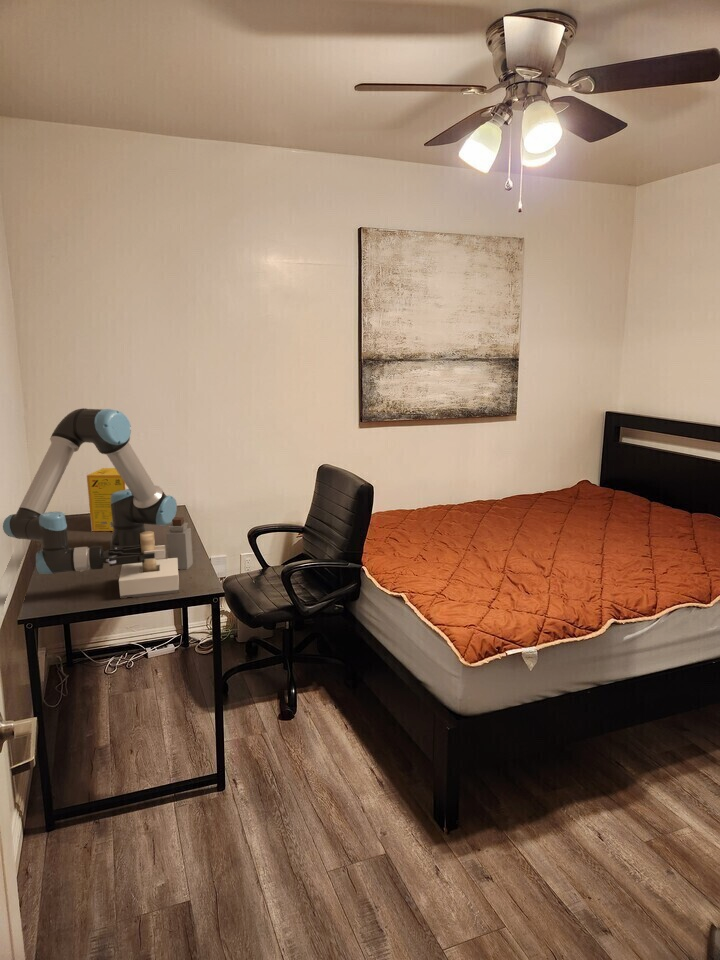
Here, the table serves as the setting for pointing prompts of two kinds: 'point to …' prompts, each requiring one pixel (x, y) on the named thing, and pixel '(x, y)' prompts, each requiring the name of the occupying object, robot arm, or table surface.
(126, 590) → the socket block
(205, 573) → the table surface
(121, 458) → the robot arm
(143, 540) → the birch peg
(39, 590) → the table surface
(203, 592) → the table surface
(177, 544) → the perfume bottle
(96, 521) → the packaging box
